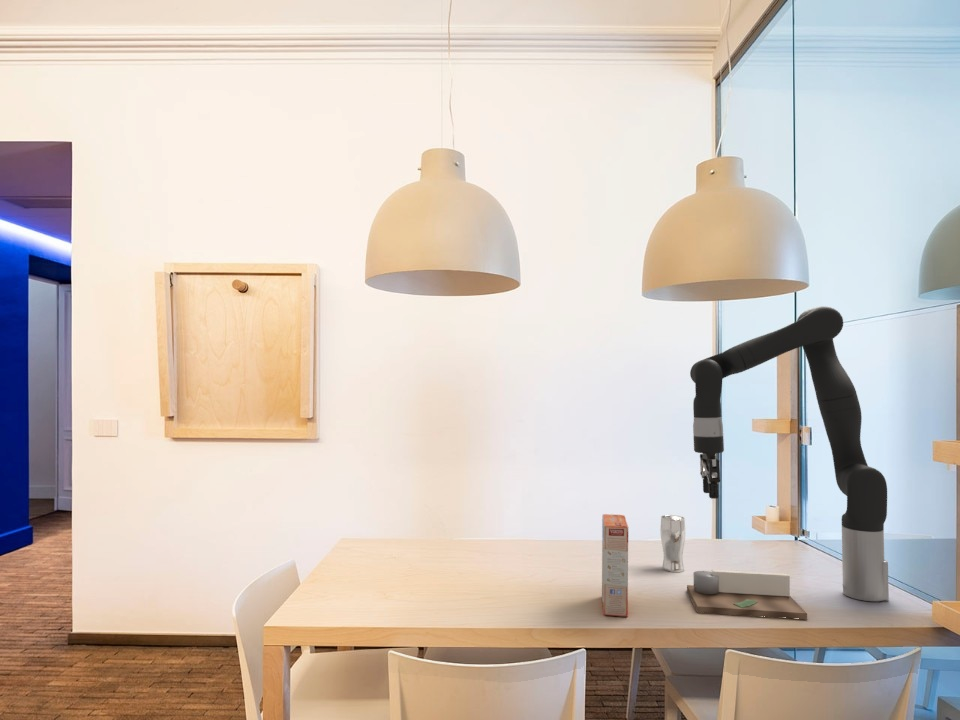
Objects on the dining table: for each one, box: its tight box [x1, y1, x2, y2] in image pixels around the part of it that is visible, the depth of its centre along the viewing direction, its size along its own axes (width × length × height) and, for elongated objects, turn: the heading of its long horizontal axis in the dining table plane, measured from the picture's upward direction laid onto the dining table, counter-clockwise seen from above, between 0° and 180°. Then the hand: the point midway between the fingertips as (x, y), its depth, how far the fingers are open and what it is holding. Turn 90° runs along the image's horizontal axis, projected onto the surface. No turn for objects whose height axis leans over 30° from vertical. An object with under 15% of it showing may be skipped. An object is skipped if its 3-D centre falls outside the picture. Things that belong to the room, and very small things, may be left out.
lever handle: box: [693, 569, 791, 596], centre depth 156 cm, size 22×6×5 cm, turn 80°
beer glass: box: [659, 514, 686, 573], centre depth 182 cm, size 7×7×15 cm
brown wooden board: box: [686, 584, 808, 620], centre depth 152 cm, size 24×16×2 cm, turn 80°
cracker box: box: [601, 513, 629, 618], centre depth 151 cm, size 14×6×21 cm, turn 170°
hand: (710, 495), depth 166 cm, fingers open, 8 cm apart
